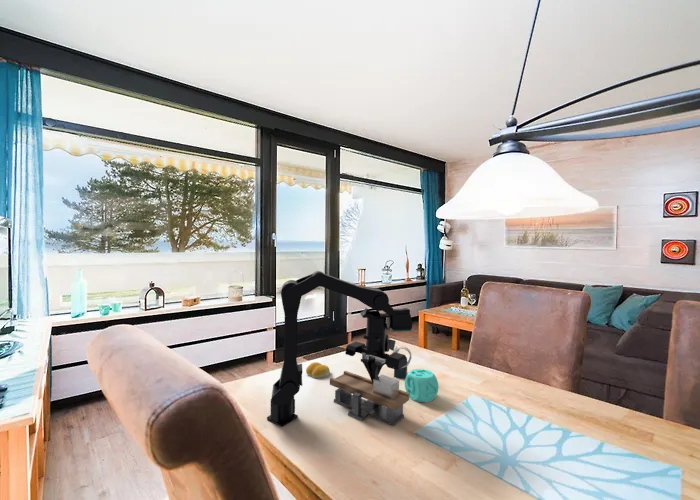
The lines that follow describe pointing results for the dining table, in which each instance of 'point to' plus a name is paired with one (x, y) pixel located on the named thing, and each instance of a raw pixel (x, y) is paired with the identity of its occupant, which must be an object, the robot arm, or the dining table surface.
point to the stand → (367, 408)
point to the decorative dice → (421, 385)
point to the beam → (367, 390)
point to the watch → (403, 371)
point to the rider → (386, 387)
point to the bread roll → (317, 370)
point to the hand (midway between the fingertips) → (374, 382)
